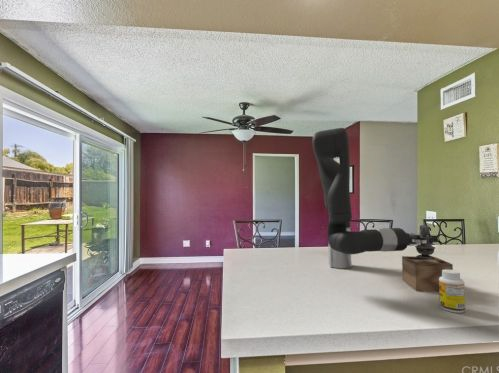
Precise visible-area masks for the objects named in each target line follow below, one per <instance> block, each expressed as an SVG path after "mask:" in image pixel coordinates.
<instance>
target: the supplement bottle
mask: <svg viewBox="0 0 499 373" xmlns="http://www.w3.org/2000/svg"><path fill="white" fill-rule="evenodd" d="M438 293H439V305H440V307H441V309H443V310H444V311H446V312H450V313H456V314H462V313H465V312H466V297H465V296H466V294H465V293H466V292H465V281H464V279H462V278H461V272H460V271H458V270H456V269H453V270H447V269H445V270H442V276H441V277H440V278H439V292H438Z"/></svg>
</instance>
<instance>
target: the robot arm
mask: <svg viewBox="0 0 499 373" xmlns="http://www.w3.org/2000/svg"><path fill="white" fill-rule="evenodd" d="M311 142H312V149H313V153H314V158H315V160H316V163H317V165H318V170H319V171H318V172H319V178H320V183H321V186H322V190H323V199H324V206H325V209H326V211H328V225H327V226H328V227H327V231H326V232H327V242H328V265H329V267H330V268H336V269H350V268H352V262H353V261H352V255H358V254H363V253H365V252H368V253H369V252H383V253H385V252H400V251H401V252H402V251H404V250H406V249H407V248H408V246H410V247H411V246H412V247H415V246H417V245H421V246H426V245H433V243H438V242H439V236H438V235H430V236H428V235H426V236H423V235H421V234H420V233H416V232H415V233H413V232H406V231H405V230H404V229H402V228H400V227H389V228H388V227H384V228H383V227H382V228H376V229H374V228H373V229H363V230H362V229H361V230H359V231H351V221H352V219H353V213H352V204H351V203H352V202H351V193H350V192H351V191H350V181H351V180H350V178H351V176H350V175H351V172H350V171H351V169H350V168H351V166H350V165H351V164H350V157H351V156H350V140H349V135H348V132H347V130H346V128H345V127H339V128H331V129H327V130H319V131H317V132H315V133H314V134H313V136H312V140H311ZM337 158H339V162H338V161H336V160H335V159H337Z"/></svg>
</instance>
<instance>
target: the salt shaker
mask: <svg viewBox="0 0 499 373" xmlns="http://www.w3.org/2000/svg"><path fill="white" fill-rule="evenodd" d="M430 231H431V230H430V226H429V225H427V224H426V222H423V224H421V225H419V234H421V235H423V236H426V235H428V236H431V234H430ZM414 247H415V250H416V252H417V253H418V254H417V255H416V256H415V257H418V258H422V259H435V258H434V257H435V256H434V255H433V254H434V252H435V249H436V247H435V246H433V244H431V245H426V246H421V245H414Z"/></svg>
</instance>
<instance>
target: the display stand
mask: <svg viewBox="0 0 499 373" xmlns="http://www.w3.org/2000/svg"><path fill="white" fill-rule="evenodd" d="M433 257H434V258H435V259H422V258H418V257H416V256H415V255H414V256H411V255H410V256H409V255H406V256H404V255H403V256H401V261H402V262H401V266H402V272H401V273H402V281H403V282H404V283H405V284H407V285H408V286H409V287H411V289H413V290H415V292H436V293H440V292H439V278H440V277H441V276H442V270H445V269H447V270H454V267H453V266H454V265H453V264H454V263H451V262H448V261H445V260H443V259H441V258H438V257H436V256H433Z"/></svg>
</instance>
